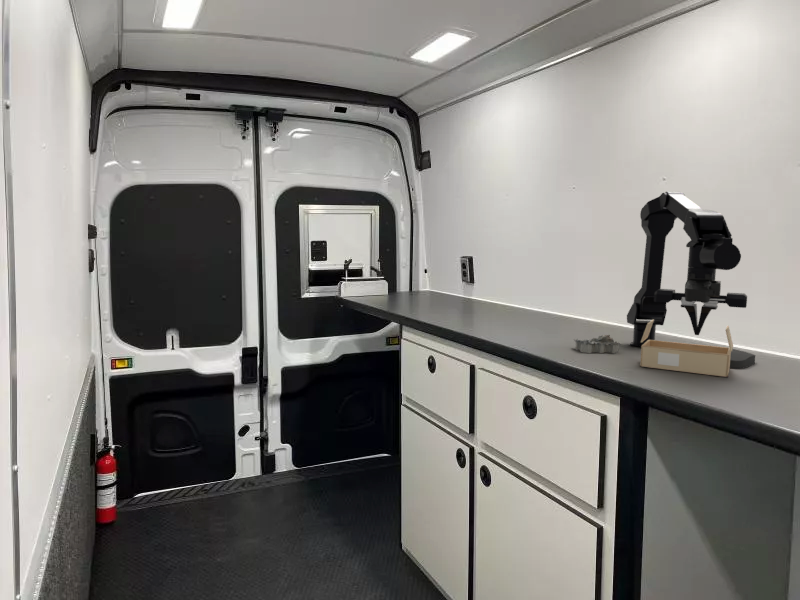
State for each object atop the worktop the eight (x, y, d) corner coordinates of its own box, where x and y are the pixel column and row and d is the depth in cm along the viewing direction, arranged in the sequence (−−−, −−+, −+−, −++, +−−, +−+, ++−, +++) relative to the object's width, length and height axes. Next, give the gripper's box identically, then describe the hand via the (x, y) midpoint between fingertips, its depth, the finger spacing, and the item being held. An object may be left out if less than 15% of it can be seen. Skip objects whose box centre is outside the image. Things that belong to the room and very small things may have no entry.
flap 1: (641, 342, 135) (648, 323, 134) (640, 342, 135) (647, 323, 134) (647, 337, 142) (654, 319, 141) (646, 337, 142) (652, 319, 141)
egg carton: (610, 349, 158) (611, 334, 158) (621, 354, 151) (622, 339, 150) (572, 348, 158) (573, 333, 157) (581, 353, 150) (582, 338, 150)
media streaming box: (758, 363, 143) (759, 351, 143) (741, 371, 133) (742, 359, 133) (696, 354, 154) (697, 343, 153) (675, 361, 143) (676, 349, 143)
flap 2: (731, 345, 133) (727, 325, 133) (733, 345, 133) (728, 325, 133) (730, 351, 126) (725, 330, 126) (731, 351, 126) (727, 330, 126)
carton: (647, 358, 144) (648, 339, 144) (729, 368, 135) (731, 347, 134) (639, 367, 135) (641, 346, 134) (727, 377, 125) (729, 355, 125)
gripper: (652, 267, 129) (648, 335, 131) (748, 270, 119) (742, 344, 121) (659, 265, 139) (655, 329, 140) (749, 268, 129) (743, 337, 130)
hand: (696, 334), depth 133 cm, fingers closed
